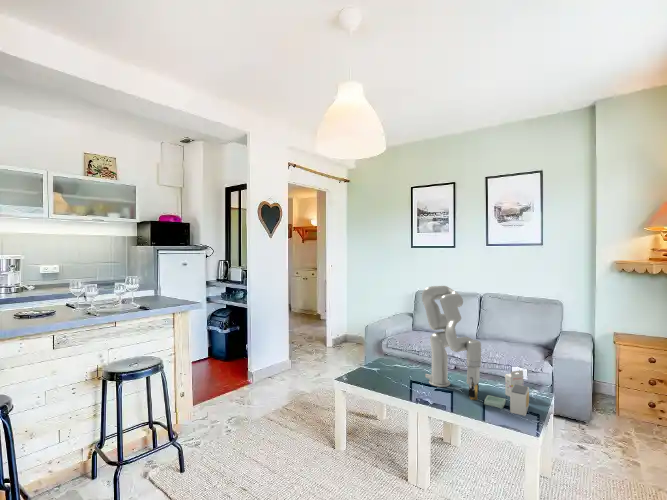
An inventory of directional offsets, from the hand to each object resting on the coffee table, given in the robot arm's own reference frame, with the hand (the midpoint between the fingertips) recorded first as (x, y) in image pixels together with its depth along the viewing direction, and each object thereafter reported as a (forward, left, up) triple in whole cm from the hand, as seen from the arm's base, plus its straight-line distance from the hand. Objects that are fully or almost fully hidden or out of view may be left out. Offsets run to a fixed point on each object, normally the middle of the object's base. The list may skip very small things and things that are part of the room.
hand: (473, 394), depth 203 cm
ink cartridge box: (+18, +18, -3) cm, 26 cm away
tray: (+11, 0, -3) cm, 11 cm away
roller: (0, 0, -3) cm, 3 cm away
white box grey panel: (+23, 0, -3) cm, 23 cm away
